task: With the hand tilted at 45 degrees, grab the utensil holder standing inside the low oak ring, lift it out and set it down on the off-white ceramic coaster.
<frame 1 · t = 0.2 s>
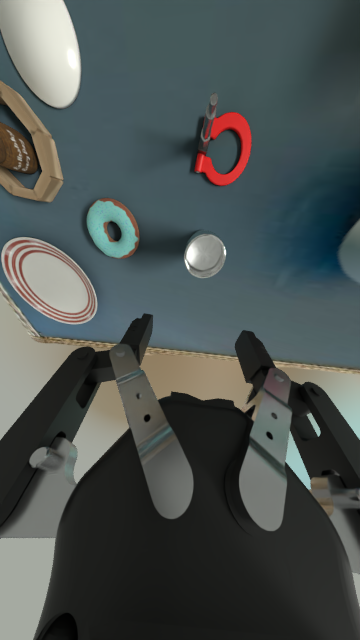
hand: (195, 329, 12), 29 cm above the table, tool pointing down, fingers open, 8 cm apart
coaster: (43, 45, 20), on the table
dinner plate: (60, 284, 45), on the table
oak ring: (23, 152, 27), on the table
tow hook: (222, 154, 25), on the table
beer glass: (201, 244, 34), on the table
utensil holder: (24, 153, 27), resting in oak ring
donut: (118, 230, 34), on the table
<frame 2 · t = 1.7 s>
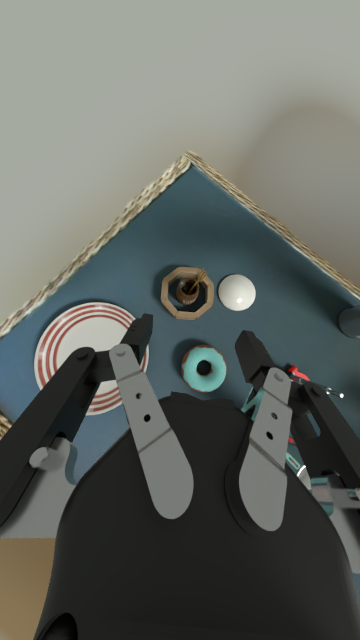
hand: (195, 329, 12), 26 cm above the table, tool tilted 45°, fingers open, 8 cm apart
coaster: (236, 292, 41), on the table
dinner plate: (99, 353, 37), on the table
oak ring: (186, 295, 40), on the table
tow hook: (293, 385, 38), on the table
beer glass: (256, 424, 36), on the table
utensil holder: (186, 295, 40), resting in oak ring
donut: (201, 366, 38), on the table
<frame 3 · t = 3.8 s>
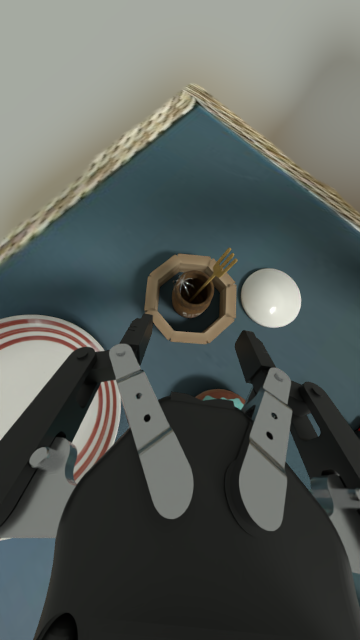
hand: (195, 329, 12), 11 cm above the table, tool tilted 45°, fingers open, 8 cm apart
coaster: (269, 298, 25), on the table
dinner plate: (38, 403, 21), on the table
oak ring: (189, 302, 24), on the table
utensil holder: (189, 302, 24), resting in oak ring
donut: (215, 422, 22), on the table
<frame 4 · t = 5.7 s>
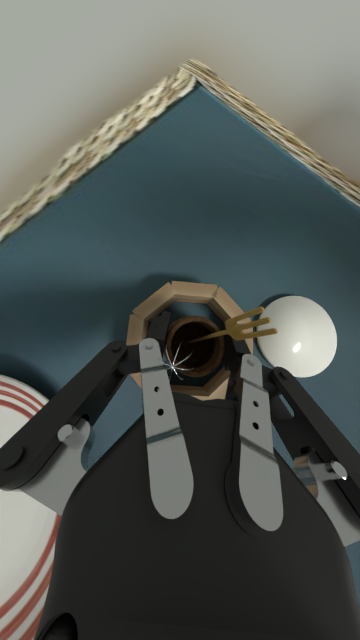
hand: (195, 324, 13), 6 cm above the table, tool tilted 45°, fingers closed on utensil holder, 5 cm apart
coaster: (294, 334, 19), on the table
oak ring: (188, 342, 18), on the table
utensil holder: (187, 342, 18), resting in oak ring, touching gripper
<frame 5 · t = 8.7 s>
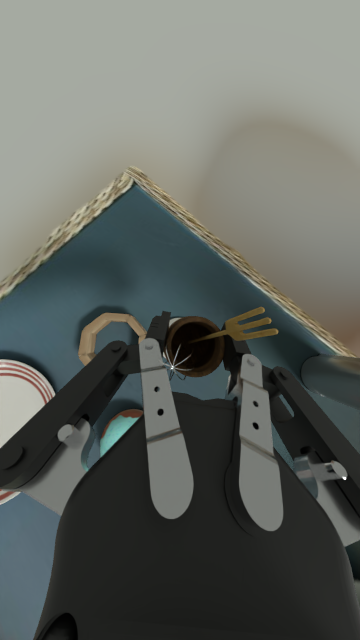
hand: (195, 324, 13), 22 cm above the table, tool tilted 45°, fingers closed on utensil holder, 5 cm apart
dinner plate: (4, 420, 30), on the table
oak ring: (118, 344, 33), on the table
utensil holder: (187, 342, 18), point 16 cm above the table, touching gripper
donut: (132, 432, 31), on the table
when the fingers open (7 cm above the table, at t = 11.9 s): utensil holder stays where it is, resting on coaster.
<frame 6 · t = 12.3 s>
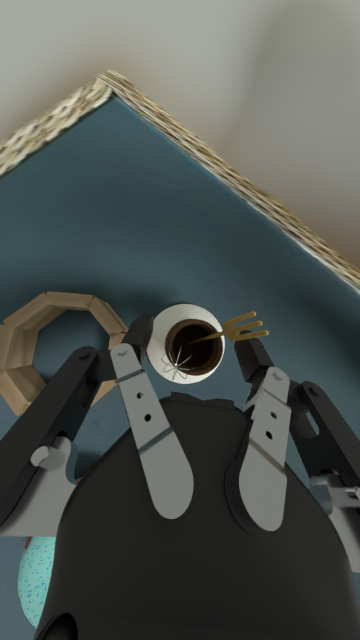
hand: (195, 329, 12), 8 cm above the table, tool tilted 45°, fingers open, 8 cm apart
coaster: (185, 342, 20), on the table
oak ring: (77, 350, 19), on the table
utensil holder: (188, 343, 19), resting on coaster
donut: (98, 516, 17), on the table
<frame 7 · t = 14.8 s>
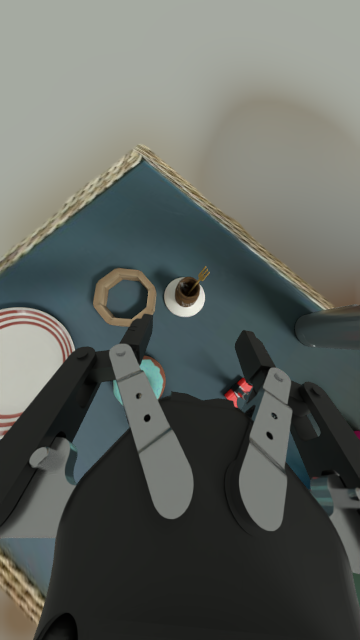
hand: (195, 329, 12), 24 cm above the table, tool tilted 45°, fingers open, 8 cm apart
coaster: (184, 297, 37), on the table
dinner plate: (23, 365, 33), on the table
oak ring: (128, 299, 36), on the table
pepper mill: (357, 443, 35), on the table
tow hook: (243, 399, 35), on the table
utensil holder: (185, 297, 37), resting on coaster
donut: (141, 378, 34), on the table
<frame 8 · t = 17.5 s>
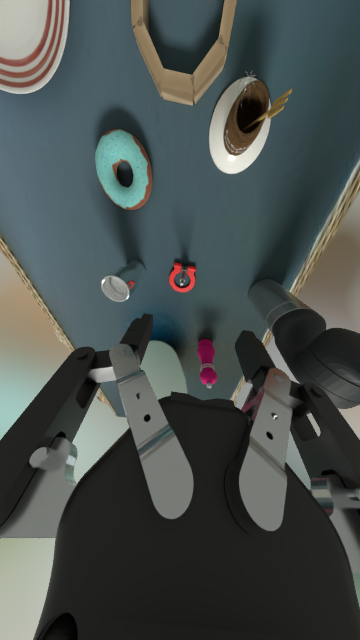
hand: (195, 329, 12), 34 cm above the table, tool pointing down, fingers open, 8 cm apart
coaster: (237, 132, 26), on the table
oak ring: (184, 19, 20), on the table
pepper mill: (205, 343, 62), on the table
tow hook: (182, 278, 44), on the table
beer glass: (136, 269, 44), on the table
utensil holder: (238, 134, 26), resting on coaster
donut: (128, 177, 31), on the table
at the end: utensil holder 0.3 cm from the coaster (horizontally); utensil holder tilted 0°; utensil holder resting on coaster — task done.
